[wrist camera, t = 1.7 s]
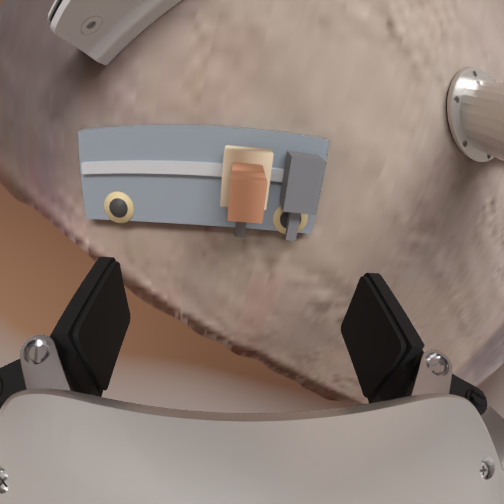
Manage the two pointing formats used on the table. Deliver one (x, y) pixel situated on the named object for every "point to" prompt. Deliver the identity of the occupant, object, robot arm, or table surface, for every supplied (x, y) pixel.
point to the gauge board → (195, 174)
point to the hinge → (104, 23)
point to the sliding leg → (245, 184)
